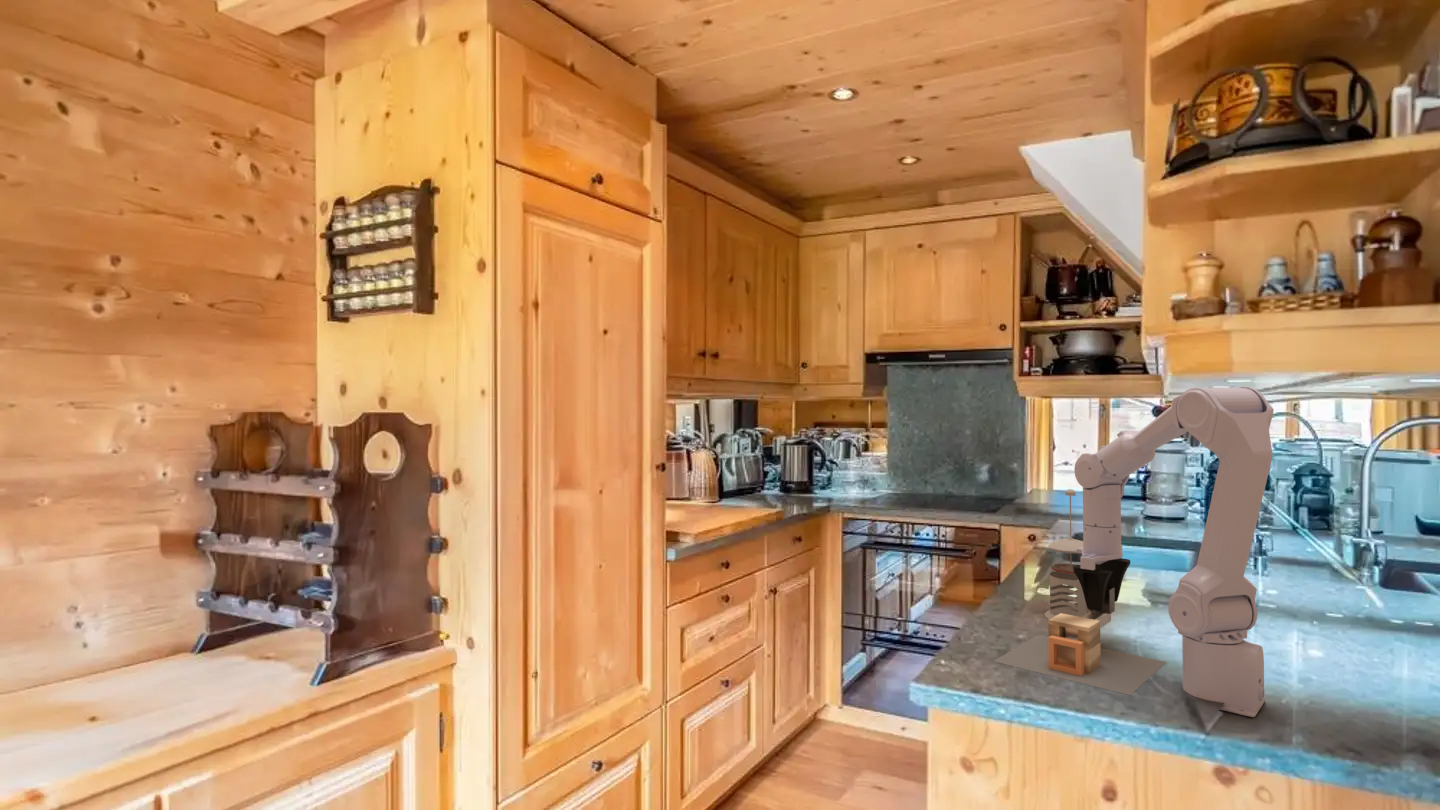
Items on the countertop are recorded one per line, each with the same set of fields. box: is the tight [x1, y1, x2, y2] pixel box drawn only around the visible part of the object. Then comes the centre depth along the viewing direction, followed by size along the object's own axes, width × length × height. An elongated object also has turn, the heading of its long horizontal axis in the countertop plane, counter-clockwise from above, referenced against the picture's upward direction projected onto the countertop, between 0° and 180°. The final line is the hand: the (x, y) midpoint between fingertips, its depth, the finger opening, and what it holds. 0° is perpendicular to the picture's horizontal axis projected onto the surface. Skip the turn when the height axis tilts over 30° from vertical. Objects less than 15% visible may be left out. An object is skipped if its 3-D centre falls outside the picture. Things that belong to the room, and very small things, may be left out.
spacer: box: [1047, 635, 1085, 676], centre depth 114 cm, size 5×2×5 cm, turn 46°
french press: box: [1044, 488, 1091, 620], centre depth 144 cm, size 10×12×25 cm
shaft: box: [1065, 586, 1116, 640], centre depth 121 cm, size 3×15×6 cm, turn 135°
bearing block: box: [1047, 613, 1101, 674], centre depth 117 cm, size 6×5×7 cm
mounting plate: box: [992, 634, 1167, 696], centre depth 118 cm, size 20×18×1 cm
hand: (1102, 605), depth 126 cm, fingers open, 7 cm apart
